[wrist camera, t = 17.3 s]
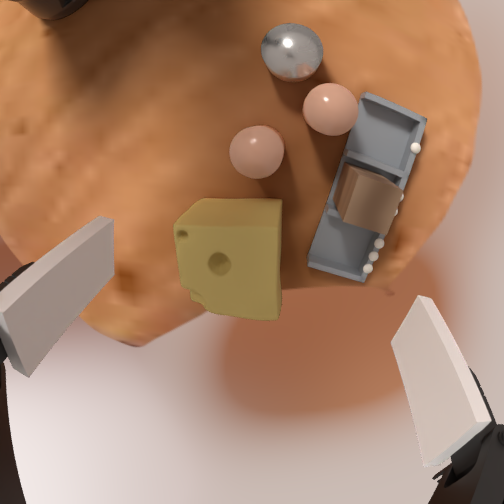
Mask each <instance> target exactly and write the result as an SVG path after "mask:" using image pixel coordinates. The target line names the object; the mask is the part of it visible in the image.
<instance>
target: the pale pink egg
mask: <svg viewBox="0 0 504 504" xmlns="http://www.w3.org/2000/svg"><path fill="white" fill-rule="evenodd" d="M358 112H359V111H358V104H357V101H356V99H355V97H354V96H353V94H352V93H351V92H350V91H349V90H348V89H346V88H345V87H343V86H341V85H338V84H334V83H325V84H321V85H318V86H317V87H315V88H314V89H312V90H311V91H310V92H309V94H308V95H307V97H306V99H305V100H304V103H303V106H302V113H303V117H304V119H305V121H306V123H307V124H308V125H309V126H310V127H311V128H313V129H314V130H316V131H318V132H320V133H322V134H325V135H330V136H336V135H341V134H344V133H346V132H348V131H349V130H350V129H351V128H352V127H353V126H354V125H355V123H356V121H357V118H358Z"/></svg>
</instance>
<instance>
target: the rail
mask: <svg viewBox="0 0 504 504" xmlns="http://www.w3.org/2000/svg"><path fill="white" fill-rule="evenodd" d="M358 111H359V112H358V118H357V121H356V123H355V125H354V126H353V127H352V128H351V130H350V133H349V136H348V139H347V142H346V146H345V149H344V152H343V155H342V158H341V161H340V164H339V167H338V170H337V173H336V176H335V179H334V182H333V185H332V188H331V191H330V194H329V197H328V200H327V203H326V205H325V208H324V211H323V214H322V217H321V220H320V222H319V225H318V228H317V231H316V233H315V236H314V239H313V242H312V244H311V247H310V250H309V252H308V255H307V266H308V267H311V268H315V269H318V270H322V271H325V272H328V273H332V274H335V275H339V276H342V277H345V278H349V279H352V280H356V281H359V282H363V283H364V281H365V279H366V277H367V275H368V273H370V272H372V270H373V267H372V264H373V262H374V261H376V260H377V259H378V257H379V255H378V251H379V249H380V248H382V247H383V246H384V241H383V240H384V237H385V235H383V234H380V233H377V232H374V231H371V230H368V229H365V228H362V227H359V226H356V225H352V224H349V223H346V222H343V221H342V218H341V216H340V214H339V212H338V209H337V207H336V205H335V203H334V201H333V199H332V198H333V195H334V192H335V189H336V186H337V183H338V180H339V177H340V174H341V170H342V167H343V164H344V162H347V163H350V164H353V165H356V166H359V167H362V168H365V169H368V170H370V171H373V172H376V173H379V174H381V175H382V176H384V177H385V178H387V179H388V180H389V181H391V182H392V183H394V184H395V185H396V186H398V187H399V188H400V189H402V190H404V188H405V185H406V182H407V179H408V177H409V174H410V171H411V168H412V165H413V162H414V159H415V156H416V154H417V153H419V152H420V150H421V147H420V145H419V144H420V141H421V138H422V135H423V132H424V128H425V125H426V122H427V118H425V117H423V116H421V115H419V114H417V113H415V112H412V111H410V110H408V109H406V108H404V107H402V106H399V105H397V104H395V103H393V102H390V101H388V100H386V99H383V98H381V97H379V96H376V95H374V94H371V93H369V92H364V93H361V96H360V100H359V103H358ZM403 198H404V195H403V194H402V197H401V200H400V201H402V200H403ZM397 213H398V209H397V210H396V213H395V216H396V215H397Z"/></svg>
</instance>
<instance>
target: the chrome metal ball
mask: <svg viewBox="0 0 504 504" xmlns="http://www.w3.org/2000/svg"><path fill="white" fill-rule="evenodd" d="M261 54H262V57H263V60H264V62H265V64H266V66H267V68H268V69H269V71H270V72H271V73H272V74H273V75H274V76H275V77H277V78H279V79H281V80H283V81H287V82H301V81H304V80H306V79H308V78H310V77H311V76H312V75H313V74H314V73H315V72H316V71H317V69H318V67H319V65H320V63H321V60H322V57H323V46H322V43H321V41H320V39H319V37H318V36H317V35H316V34H315V33H314V32H313V31H312V30H311V29H309V28H307V27H305V26H303V25H300V24H294V23H287V24H282V25H279V26H276V27H275V28H273V29H271V30H270V31H269V32H268V33H267V34H266V36H265V37H264V39H263V41H262V45H261Z"/></svg>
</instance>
